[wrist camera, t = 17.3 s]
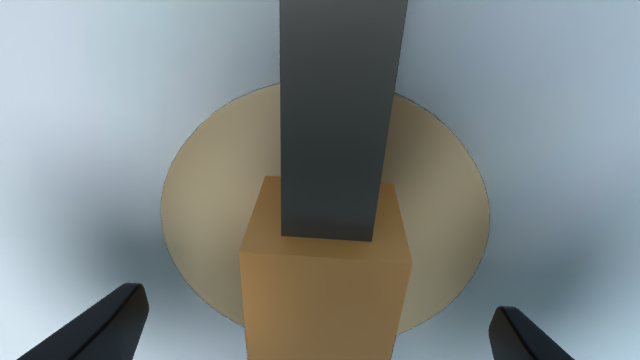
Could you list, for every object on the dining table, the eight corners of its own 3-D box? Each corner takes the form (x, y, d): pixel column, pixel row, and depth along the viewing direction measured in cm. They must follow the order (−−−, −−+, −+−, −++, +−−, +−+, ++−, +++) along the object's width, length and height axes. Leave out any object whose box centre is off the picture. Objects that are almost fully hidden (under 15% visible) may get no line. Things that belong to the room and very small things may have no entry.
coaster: (530, 88, 9) (538, 93, 9) (446, 345, 14) (449, 354, 14) (135, 68, 10) (128, 72, 9) (189, 328, 15) (185, 337, 14)
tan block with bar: (476, -304, 6) (595, -534, 3) (375, 286, 12) (386, 379, 10) (250, -313, 6) (174, -547, 3) (268, 279, 13) (248, 368, 10)
